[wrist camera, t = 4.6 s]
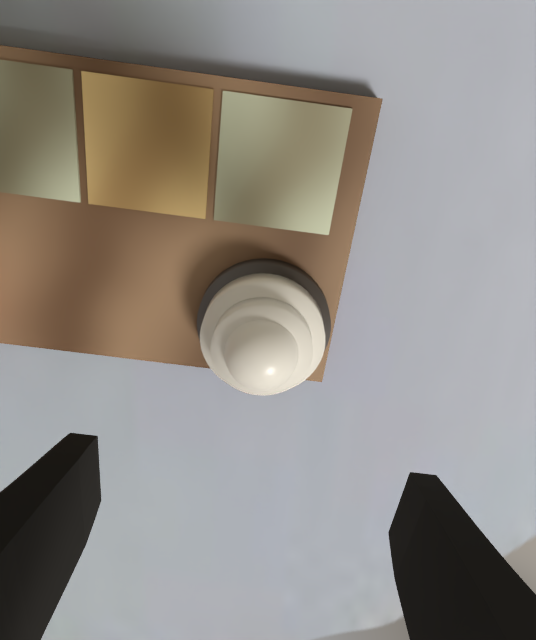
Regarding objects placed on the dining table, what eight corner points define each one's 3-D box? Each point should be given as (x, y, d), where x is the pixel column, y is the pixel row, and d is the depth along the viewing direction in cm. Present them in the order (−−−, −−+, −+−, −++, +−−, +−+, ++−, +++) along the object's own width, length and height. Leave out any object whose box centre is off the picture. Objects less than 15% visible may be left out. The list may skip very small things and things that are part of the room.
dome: (200, 371, 18) (186, 421, 16) (207, 265, 16) (192, 301, 14) (312, 385, 19) (317, 436, 16) (333, 281, 17) (344, 320, 14)
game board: (-138, 315, 20) (-169, 332, 18) (-232, 13, 15) (-284, 4, 13) (320, 371, 20) (323, 391, 19) (377, 98, 15) (387, 99, 14)
